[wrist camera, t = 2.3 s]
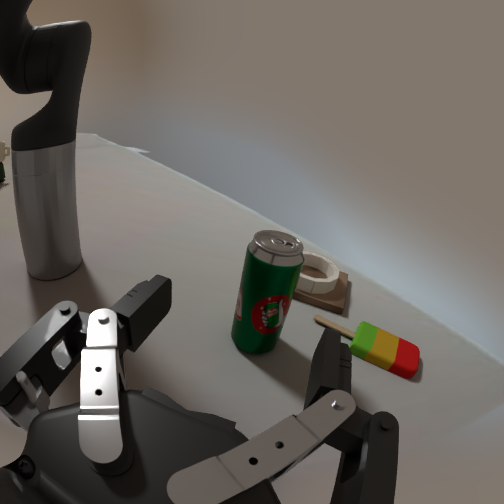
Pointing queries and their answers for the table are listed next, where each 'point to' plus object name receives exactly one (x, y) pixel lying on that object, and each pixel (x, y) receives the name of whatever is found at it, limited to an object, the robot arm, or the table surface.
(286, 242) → the soda can
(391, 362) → the popsicle
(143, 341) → the robot arm
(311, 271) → the socket plate
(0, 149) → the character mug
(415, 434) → the table surface
